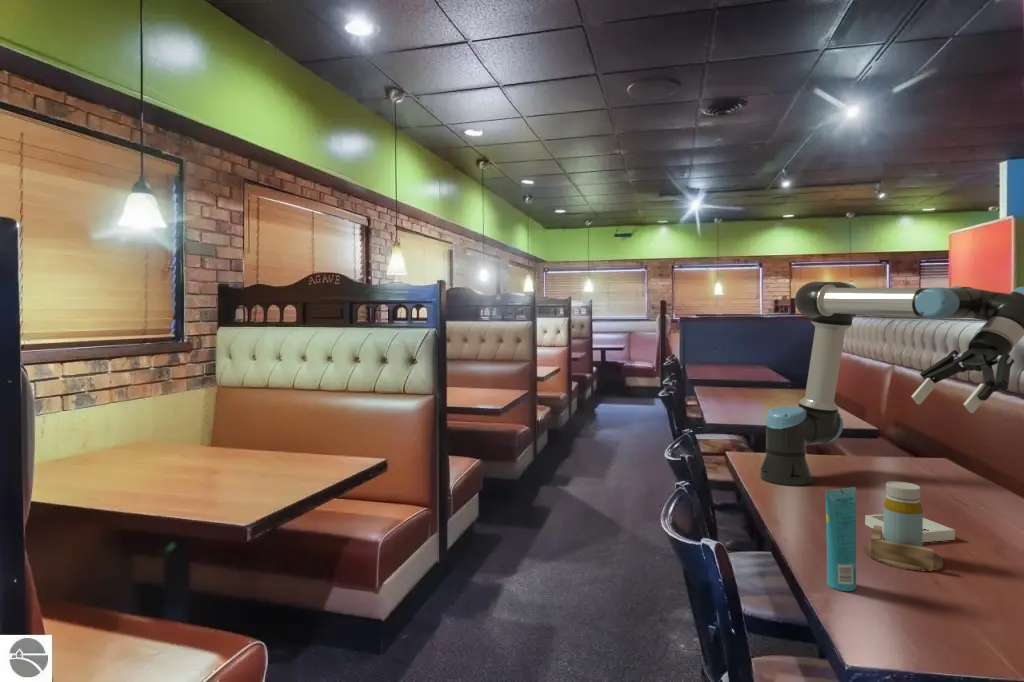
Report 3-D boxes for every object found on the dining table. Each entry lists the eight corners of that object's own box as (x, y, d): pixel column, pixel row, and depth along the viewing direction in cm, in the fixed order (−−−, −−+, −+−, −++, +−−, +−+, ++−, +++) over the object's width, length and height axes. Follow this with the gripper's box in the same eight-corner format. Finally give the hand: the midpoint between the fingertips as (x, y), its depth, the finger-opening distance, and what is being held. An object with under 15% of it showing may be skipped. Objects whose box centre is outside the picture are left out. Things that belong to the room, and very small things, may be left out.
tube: (842, 577, 113) (843, 483, 112) (865, 587, 109) (866, 489, 108) (816, 584, 110) (817, 487, 110) (839, 595, 106) (839, 494, 105)
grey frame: (865, 525, 142) (865, 515, 142) (908, 521, 144) (908, 512, 144) (907, 544, 129) (908, 533, 129) (954, 540, 131) (955, 529, 131)
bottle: (915, 549, 125) (916, 482, 124) (927, 561, 118) (928, 491, 118) (879, 545, 127) (879, 479, 126) (889, 557, 120) (889, 488, 120)
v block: (901, 541, 131) (901, 523, 131) (963, 569, 116) (964, 548, 116) (846, 546, 129) (846, 527, 129) (903, 575, 114) (903, 554, 113)
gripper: (1062, 353, 123) (1003, 424, 121) (955, 348, 148) (905, 407, 146) (1042, 330, 122) (983, 400, 120) (938, 329, 147) (887, 387, 145)
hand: (940, 404), depth 133 cm, fingers open, 13 cm apart
